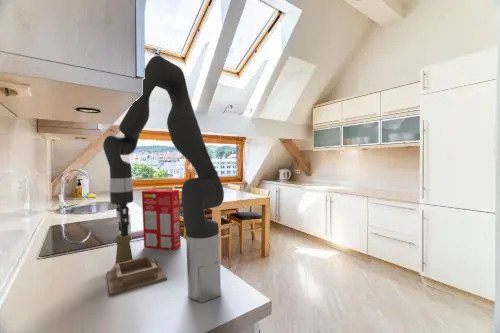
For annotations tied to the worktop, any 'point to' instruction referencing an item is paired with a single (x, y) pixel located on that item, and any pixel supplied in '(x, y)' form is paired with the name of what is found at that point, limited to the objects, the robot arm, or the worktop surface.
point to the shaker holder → (134, 275)
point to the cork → (123, 248)
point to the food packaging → (161, 219)
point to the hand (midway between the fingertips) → (123, 233)
